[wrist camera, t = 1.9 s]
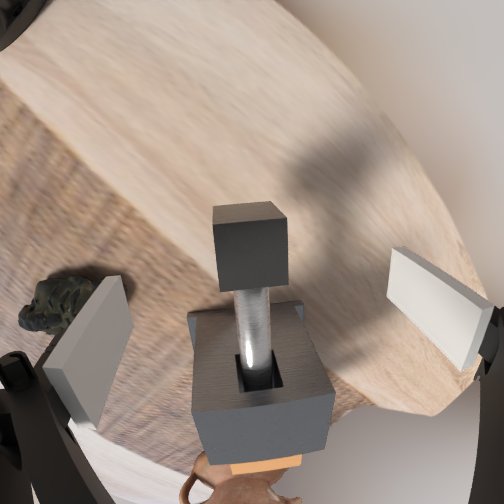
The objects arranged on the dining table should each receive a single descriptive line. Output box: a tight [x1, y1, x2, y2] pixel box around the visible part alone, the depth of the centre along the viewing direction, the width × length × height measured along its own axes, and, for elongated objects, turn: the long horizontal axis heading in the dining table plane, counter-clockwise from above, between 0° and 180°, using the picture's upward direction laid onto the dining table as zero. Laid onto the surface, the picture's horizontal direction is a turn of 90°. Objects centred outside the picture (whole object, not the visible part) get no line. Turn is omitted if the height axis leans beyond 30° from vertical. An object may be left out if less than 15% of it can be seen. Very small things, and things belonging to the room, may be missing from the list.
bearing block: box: [187, 300, 336, 465], centre depth 26 cm, size 8×12×14 cm, turn 93°
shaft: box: [213, 201, 289, 392], centre depth 23 cm, size 27×4×5 cm, turn 3°
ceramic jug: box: [179, 451, 302, 504], centre depth 34 cm, size 18×14×14 cm
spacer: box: [230, 454, 302, 475], centre depth 27 cm, size 2×7×7 cm, turn 94°
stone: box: [18, 276, 127, 336], centre depth 26 cm, size 7×13×5 cm, turn 100°
